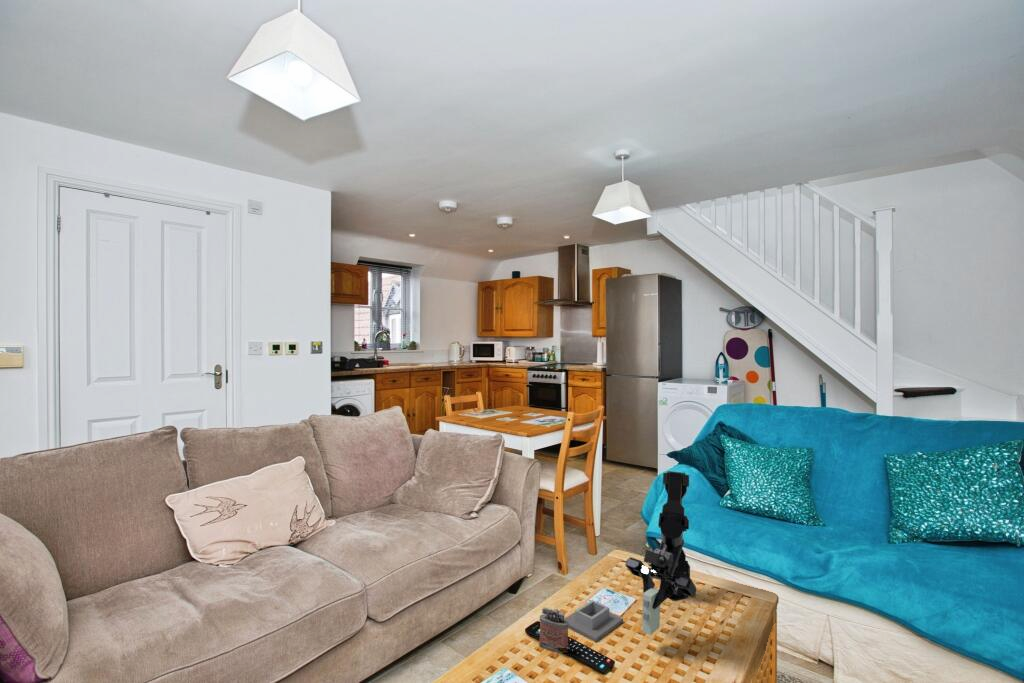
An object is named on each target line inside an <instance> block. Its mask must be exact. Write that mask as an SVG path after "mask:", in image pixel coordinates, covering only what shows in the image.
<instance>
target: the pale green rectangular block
mask: <svg viewBox="0 0 1024 683" xmlns="http://www.w3.org/2000/svg"><path fill="white" fill-rule="evenodd" d="M658 591H659V589H657V588H655V587H654V588H653V587H652V588H650V589H649V590H647V591H646V592H644V593H643V592H642V612H641V614H642V615H641V616H642V617H641V620H642V621H641V624H642V625H641V632H642V633H644V634H646V635H649V636H652V635H653V634H654V633H655V632H656V631H658V630H659V629H660V624H661V623H660V621H661V619H660V616H661V604H660V605H659V606H658V607H657V608H656V609H653V608H652V607H653V603H654V600H655V598H656V595H657V593H658Z"/></svg>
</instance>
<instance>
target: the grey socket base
mask: <svg viewBox="0 0 1024 683" xmlns="http://www.w3.org/2000/svg"><path fill="white" fill-rule="evenodd" d="M564 619H565V620H567V621H569V626H568V630H571V631H573V632H574V633H575V632H576V634H579V635H581V636H583V637H585V638H587V639H588V640H590V641H592V642H594V643H596V642H598V641H599V640H601V639H602V638H603V637H605V636H607V634H609V633H610V632H612V630H614V629H616V628H617V627H618V626H619V625H621V624H623V623H624V618H623V617H620V616H619V615H616V614H614V613H612V612H610V606H607V605H604V604H602V603H599V602H597V601H596V600H593V599H592V600H590V601H589V602H587V603H585V604H584V605H582V606H581V607H579V608H577V609H576V610H575V611H574V612H573V613H570V614H569V615H568V616H566V617H564Z"/></svg>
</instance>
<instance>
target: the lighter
mask: <svg viewBox="0 0 1024 683" xmlns="http://www.w3.org/2000/svg"><path fill="white" fill-rule="evenodd" d="M541 613H542V614H541V615H539V622H540V623H539V625H540V626H539V642H538V644H539V647H540V648H541V649H543V650H546V651H549V652H552V653H555V654H556V653H557V654H561V653H560V651H559V650H558V648H566V647H567V646H568V647H569V628H568V626H569V621H567V620H565V619H564V618H565V612H562V611H559V609H557V608H554V609H552V608H548V607H543V608H541Z"/></svg>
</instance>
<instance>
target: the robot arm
mask: <svg viewBox="0 0 1024 683" xmlns="http://www.w3.org/2000/svg"><path fill="white" fill-rule="evenodd" d="M662 485H664V489H665V492H666V494H667V501H666V503H664V504H663V505H662V509H661V510H662V511H661V512H659V516H658V522H657V523H658V528H660V538H661V542H660V545H659V546H658V548H657V547H656V548H655V549H654V551H651V550H648V549H646V550H645V554H644V558H643V561H642V560H640V559H638V558H634V557H628V559H627V560H626V561H625V564H624V565H625V567H626V568H627V570H628V571H629V572H630V573H631V574H632V575H633V576H636V577H639V578H641V579H642V585H643V586H642V587H643V588H642V589H643V592H642V594H643V593H644V592H646V591H647V590H649V589H650V588H652V587H653V588H655V586H656V584H655V582H654V581H653V580H654V579H657V580H659V582H660V583H659V589H658V590H659V591H658V593H657V595H656V598H655V600H654V603H653V607H652V608H653V609H656V608H657V607H658V606H659V605H660V606H661V605H662V604H663V602H665V601H666V600H667V599H668V598H669V599H670V600H672V601H677V600H681V599H685V598H689V597H691V598H695V597H696V594H697V586H696V585H695V583H694V581H693V580H692V578H691V565H690V564H689V560H687V558H686V553H685V551H684V549H683V547H684V545H685V539H684V537H683V533H684V532H687V530H689V529H690V520H689V518H688V516H687V515H685V507H684V506H683V499H684V497H685V496H686V494H687V491H688V488H690V475H688V474H686V472H683V471H672V470H671V471H670V470H667V471H666V472H662ZM643 562H644V563H643ZM645 563H646V564H647V565H648V567H647V566H646V565H645Z"/></svg>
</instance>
